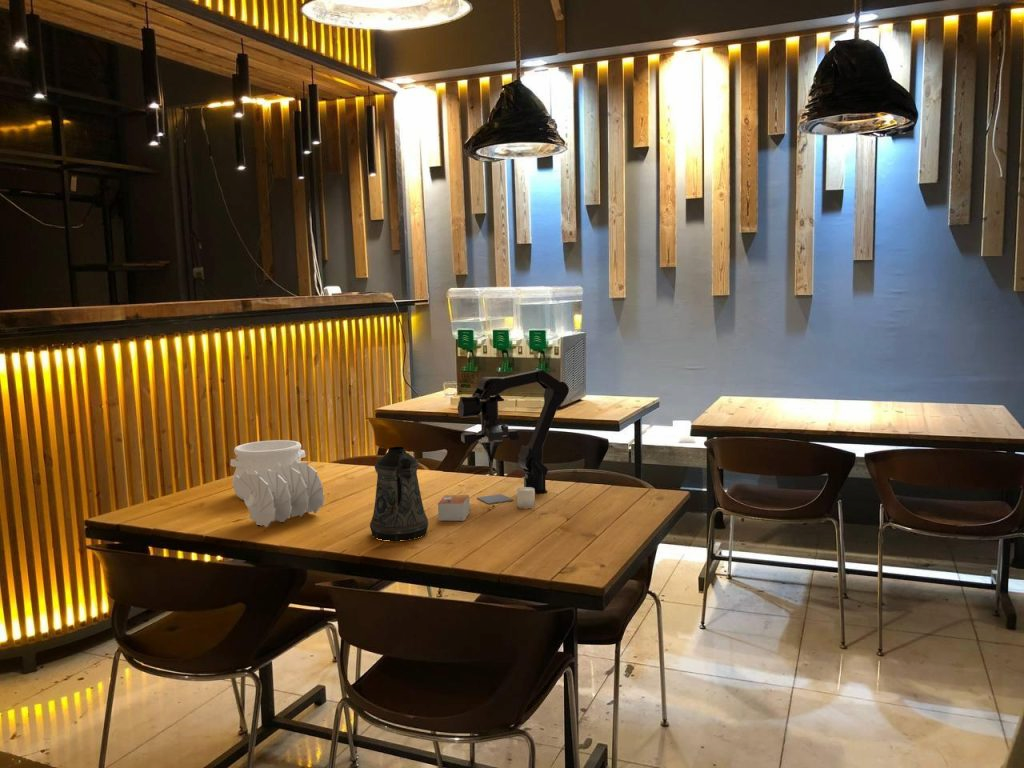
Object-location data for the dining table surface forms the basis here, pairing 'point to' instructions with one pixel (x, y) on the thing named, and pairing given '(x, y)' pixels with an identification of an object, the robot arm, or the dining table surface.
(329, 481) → the dining table surface
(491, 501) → the slate coaster
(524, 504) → the espresso cup
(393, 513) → the beer stein
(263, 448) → the pot
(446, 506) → the small box
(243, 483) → the spiral staircase
